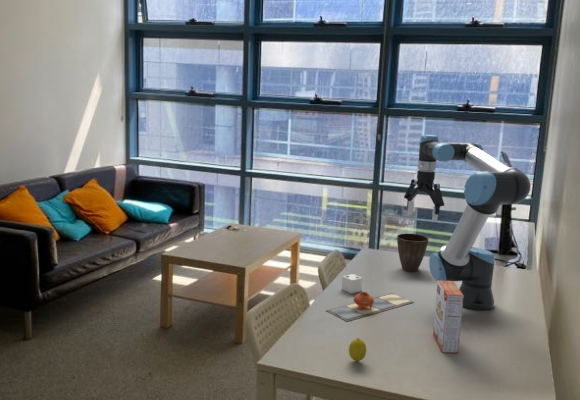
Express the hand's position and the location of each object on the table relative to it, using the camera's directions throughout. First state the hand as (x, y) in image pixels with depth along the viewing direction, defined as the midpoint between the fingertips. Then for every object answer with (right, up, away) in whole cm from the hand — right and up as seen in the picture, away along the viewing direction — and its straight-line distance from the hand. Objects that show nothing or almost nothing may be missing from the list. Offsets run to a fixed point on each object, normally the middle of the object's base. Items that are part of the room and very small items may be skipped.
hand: (422, 218), depth 253 cm
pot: (-29, -35, -26) cm, 53 cm away
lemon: (-37, -44, -70) cm, 90 cm away
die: (-32, -31, -6) cm, 45 cm away
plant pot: (0, -26, +26) cm, 37 cm away
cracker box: (-5, -42, -55) cm, 69 cm away
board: (-26, -35, -24) cm, 49 cm away
